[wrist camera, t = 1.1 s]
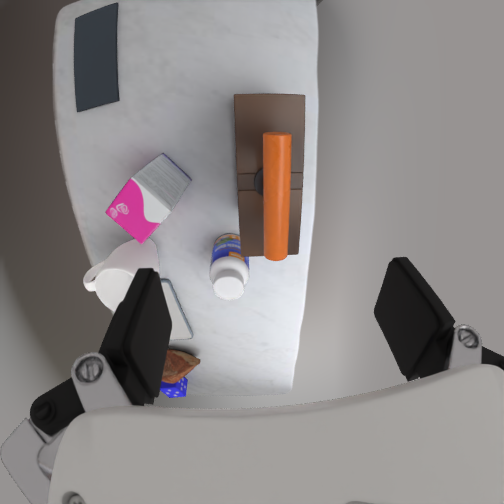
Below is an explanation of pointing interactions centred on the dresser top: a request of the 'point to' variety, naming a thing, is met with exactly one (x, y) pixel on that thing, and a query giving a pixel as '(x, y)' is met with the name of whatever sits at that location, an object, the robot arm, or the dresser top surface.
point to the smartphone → (176, 314)
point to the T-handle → (275, 193)
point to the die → (174, 388)
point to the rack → (251, 161)
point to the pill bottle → (228, 268)
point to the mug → (121, 271)
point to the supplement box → (149, 197)
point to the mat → (96, 58)
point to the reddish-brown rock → (178, 365)
